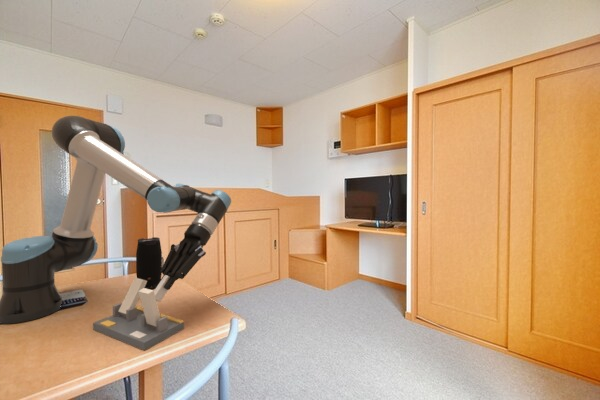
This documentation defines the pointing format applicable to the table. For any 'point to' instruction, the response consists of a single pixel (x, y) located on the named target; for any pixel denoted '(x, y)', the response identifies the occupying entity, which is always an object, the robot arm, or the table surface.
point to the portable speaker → (149, 261)
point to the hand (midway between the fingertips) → (155, 299)
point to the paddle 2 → (149, 306)
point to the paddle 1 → (132, 295)
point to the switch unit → (137, 327)
